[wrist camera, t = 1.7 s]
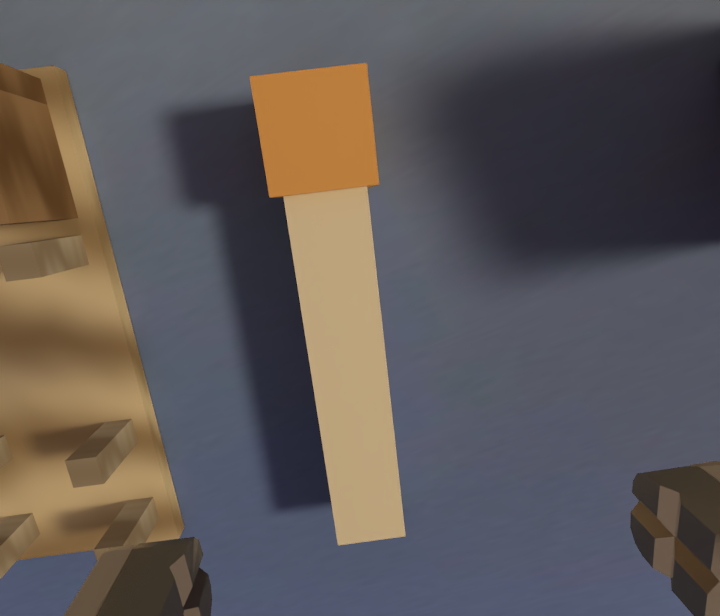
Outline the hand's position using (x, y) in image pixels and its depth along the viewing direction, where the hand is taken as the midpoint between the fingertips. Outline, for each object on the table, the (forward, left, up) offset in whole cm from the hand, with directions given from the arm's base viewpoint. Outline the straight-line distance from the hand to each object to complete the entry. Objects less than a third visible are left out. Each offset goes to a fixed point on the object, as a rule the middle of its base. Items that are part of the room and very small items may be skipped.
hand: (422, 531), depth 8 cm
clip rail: (0, +19, -19) cm, 27 cm away
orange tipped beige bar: (-1, +1, -19) cm, 19 cm away
